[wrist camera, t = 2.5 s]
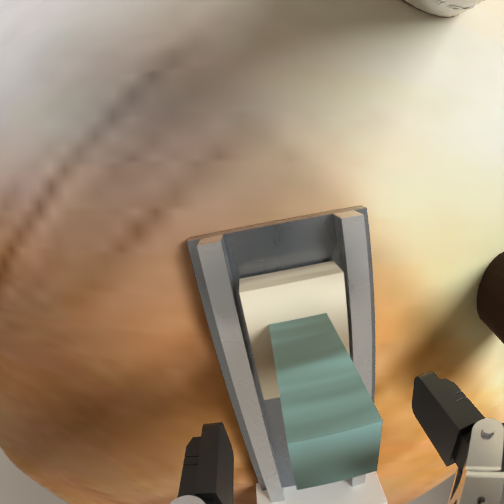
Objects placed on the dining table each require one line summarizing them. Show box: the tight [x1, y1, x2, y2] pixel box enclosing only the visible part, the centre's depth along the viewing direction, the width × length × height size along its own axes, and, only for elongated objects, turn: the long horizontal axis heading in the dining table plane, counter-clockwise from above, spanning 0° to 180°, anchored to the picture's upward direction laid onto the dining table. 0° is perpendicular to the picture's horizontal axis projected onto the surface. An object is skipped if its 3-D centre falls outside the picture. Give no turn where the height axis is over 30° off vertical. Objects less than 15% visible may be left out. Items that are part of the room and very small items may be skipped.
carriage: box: [239, 261, 383, 490], centre depth 14 cm, size 7×5×10 cm
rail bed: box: [187, 206, 375, 503], centre depth 20 cm, size 27×10×3 cm, turn 11°
